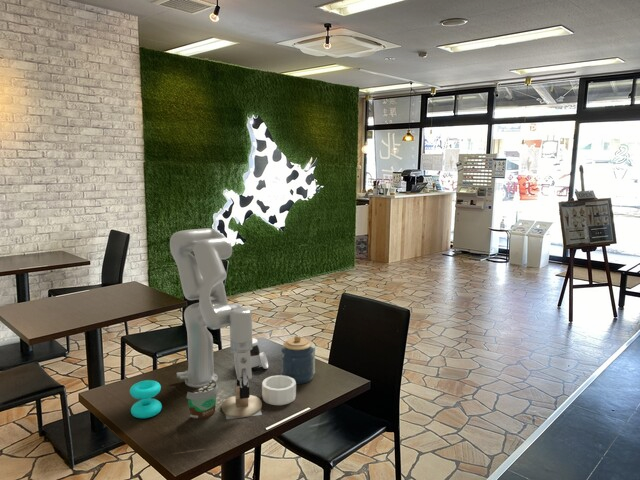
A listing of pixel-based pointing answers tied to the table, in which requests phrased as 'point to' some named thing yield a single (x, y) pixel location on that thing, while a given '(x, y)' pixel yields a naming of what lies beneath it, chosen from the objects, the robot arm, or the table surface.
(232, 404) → the lid
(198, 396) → the food container
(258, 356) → the spread jar
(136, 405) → the donuts
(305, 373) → the canister
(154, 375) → the table surface
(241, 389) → the robot arm
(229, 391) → the table surface
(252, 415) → the mat
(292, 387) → the bowl
